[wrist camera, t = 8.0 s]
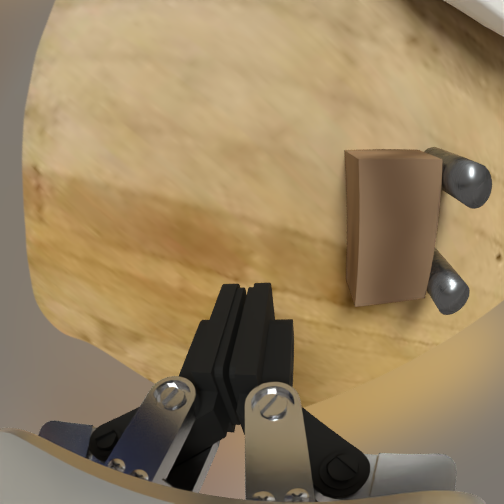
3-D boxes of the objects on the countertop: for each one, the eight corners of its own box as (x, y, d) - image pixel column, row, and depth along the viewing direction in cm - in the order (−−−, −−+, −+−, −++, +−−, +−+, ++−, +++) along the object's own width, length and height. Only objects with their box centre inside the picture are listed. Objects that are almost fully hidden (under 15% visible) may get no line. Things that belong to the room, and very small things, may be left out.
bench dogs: (448, 148, 15) (493, 165, 10) (434, 271, 19) (463, 311, 15) (419, 146, 15) (461, 162, 11) (408, 274, 19) (434, 317, 15)
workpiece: (415, 149, 15) (442, 159, 12) (407, 270, 20) (424, 298, 16) (343, 149, 16) (358, 159, 13) (345, 276, 20) (354, 306, 17)
